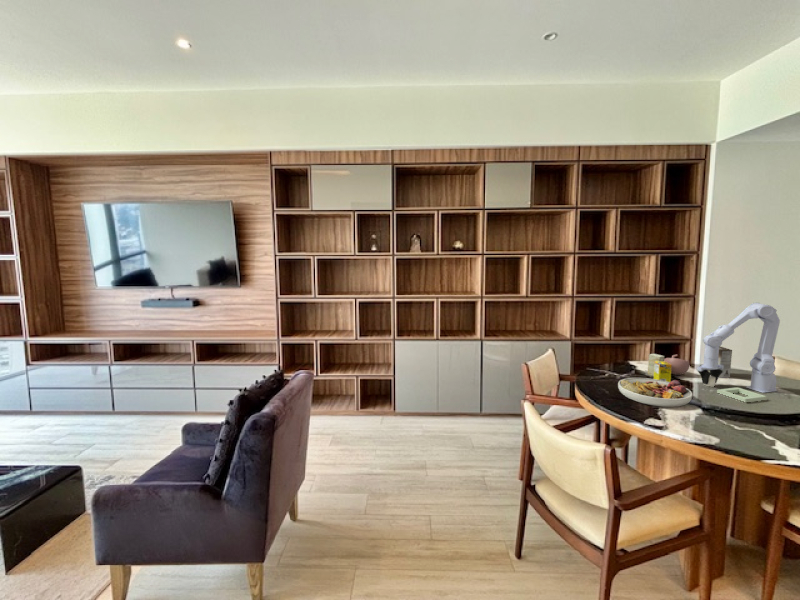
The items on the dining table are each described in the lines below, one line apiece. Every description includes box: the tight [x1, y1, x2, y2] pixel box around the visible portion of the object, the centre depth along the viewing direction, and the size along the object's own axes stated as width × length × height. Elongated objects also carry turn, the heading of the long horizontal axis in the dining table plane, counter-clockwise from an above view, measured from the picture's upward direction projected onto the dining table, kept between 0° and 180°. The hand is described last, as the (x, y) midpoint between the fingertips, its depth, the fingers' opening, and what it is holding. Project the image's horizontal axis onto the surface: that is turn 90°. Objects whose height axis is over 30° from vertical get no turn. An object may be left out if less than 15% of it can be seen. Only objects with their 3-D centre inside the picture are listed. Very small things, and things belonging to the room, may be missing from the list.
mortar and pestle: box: [664, 354, 690, 376], centre depth 213 cm, size 12×12×11 cm
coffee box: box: [708, 345, 733, 379], centre depth 209 cm, size 9×6×16 cm
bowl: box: [617, 377, 693, 408], centre depth 181 cm, size 30×30×8 cm
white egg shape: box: [703, 375, 716, 388], centre depth 194 cm, size 5×5×5 cm
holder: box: [716, 386, 768, 402], centre depth 178 cm, size 13×13×2 cm
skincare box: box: [647, 353, 665, 377], centre depth 211 cm, size 6×4×12 cm
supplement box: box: [653, 361, 672, 382], centre depth 201 cm, size 6×6×11 cm
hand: (709, 383), depth 194 cm, fingers open, 5 cm apart
